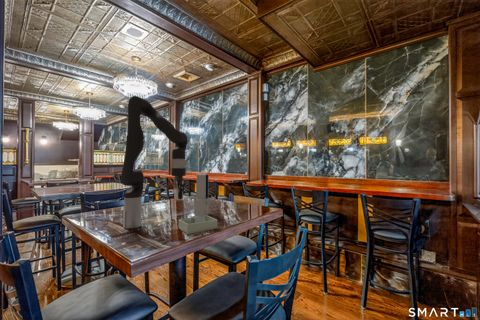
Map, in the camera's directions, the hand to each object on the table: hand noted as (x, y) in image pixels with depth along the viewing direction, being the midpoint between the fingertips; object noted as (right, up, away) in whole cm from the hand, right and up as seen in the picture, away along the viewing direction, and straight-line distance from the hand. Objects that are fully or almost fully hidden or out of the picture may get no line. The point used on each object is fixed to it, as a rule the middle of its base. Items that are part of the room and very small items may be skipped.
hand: (178, 198), depth 119 cm
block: (+10, -17, +4) cm, 20 cm away
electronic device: (+6, -19, +37) cm, 42 cm away
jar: (0, -1, 0) cm, 1 cm away
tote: (+10, -18, +4) cm, 21 cm away
